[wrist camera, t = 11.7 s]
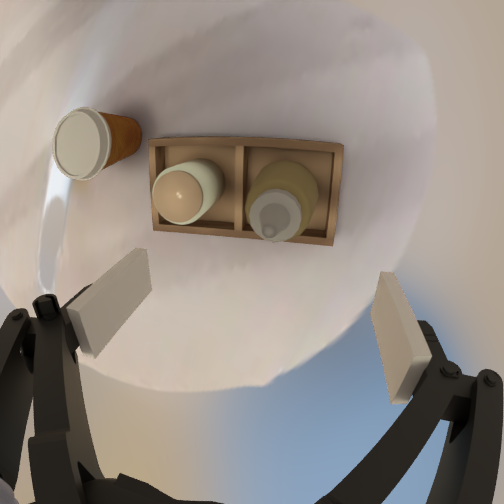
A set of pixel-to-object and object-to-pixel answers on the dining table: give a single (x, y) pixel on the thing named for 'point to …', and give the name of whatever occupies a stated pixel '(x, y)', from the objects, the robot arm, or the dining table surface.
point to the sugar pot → (188, 190)
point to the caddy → (250, 180)
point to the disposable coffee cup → (93, 142)
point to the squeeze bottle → (281, 201)
